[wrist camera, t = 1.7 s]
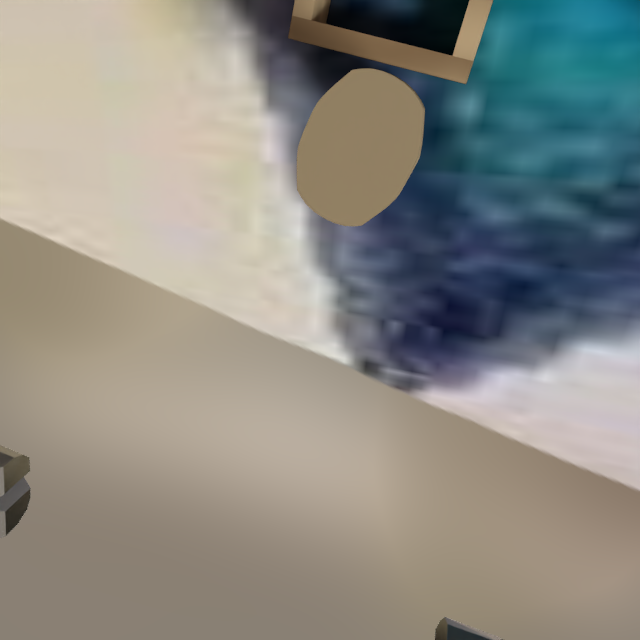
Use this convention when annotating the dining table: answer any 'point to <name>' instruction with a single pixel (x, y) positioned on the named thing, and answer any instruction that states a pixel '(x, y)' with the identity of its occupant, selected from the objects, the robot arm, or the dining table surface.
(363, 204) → the handle
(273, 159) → the dining table surface
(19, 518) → the robot arm
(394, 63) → the cleat board
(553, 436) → the dining table surface
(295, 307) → the dining table surface
